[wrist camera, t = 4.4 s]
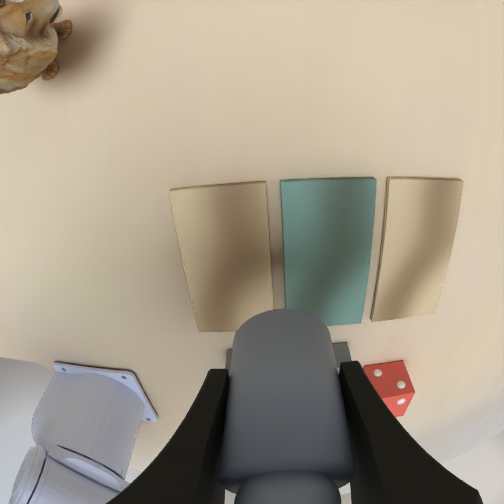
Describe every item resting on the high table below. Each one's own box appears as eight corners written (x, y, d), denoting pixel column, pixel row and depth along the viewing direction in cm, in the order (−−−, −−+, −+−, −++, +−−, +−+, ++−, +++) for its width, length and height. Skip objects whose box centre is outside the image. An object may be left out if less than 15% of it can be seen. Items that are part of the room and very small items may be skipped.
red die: (357, 390, 25) (365, 423, 22) (364, 365, 23) (374, 399, 20) (393, 385, 25) (403, 416, 21) (402, 359, 23) (415, 392, 20)
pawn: (239, 377, 14) (224, 554, 6) (226, 311, 12) (194, 540, 4) (327, 372, 13) (349, 548, 6) (334, 305, 11) (381, 531, 4)
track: (199, 328, 22) (199, 331, 21) (170, 189, 17) (168, 191, 16) (432, 310, 20) (434, 313, 20) (459, 179, 16) (463, 181, 15)
